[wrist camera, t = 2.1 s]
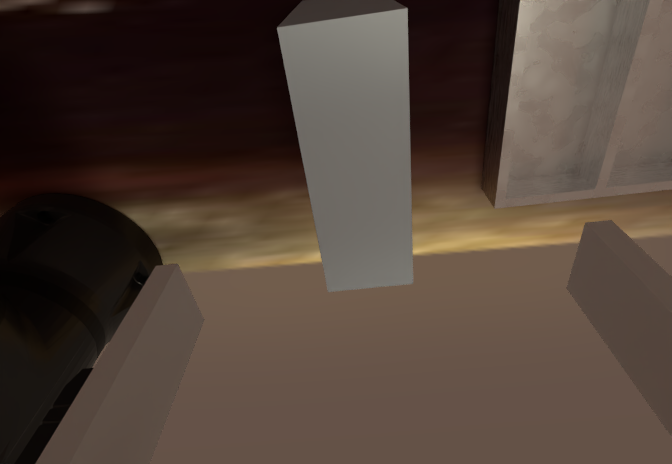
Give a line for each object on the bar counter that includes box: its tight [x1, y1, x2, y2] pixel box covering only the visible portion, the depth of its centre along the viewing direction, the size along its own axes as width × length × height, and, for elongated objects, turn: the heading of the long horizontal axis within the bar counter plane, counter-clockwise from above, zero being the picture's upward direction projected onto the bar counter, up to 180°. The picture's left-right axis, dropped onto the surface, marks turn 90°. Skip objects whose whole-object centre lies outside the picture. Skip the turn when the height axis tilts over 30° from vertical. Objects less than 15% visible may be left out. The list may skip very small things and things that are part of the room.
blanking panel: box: [277, 0, 413, 292], centre depth 24 cm, size 5×14×14 cm, turn 7°
